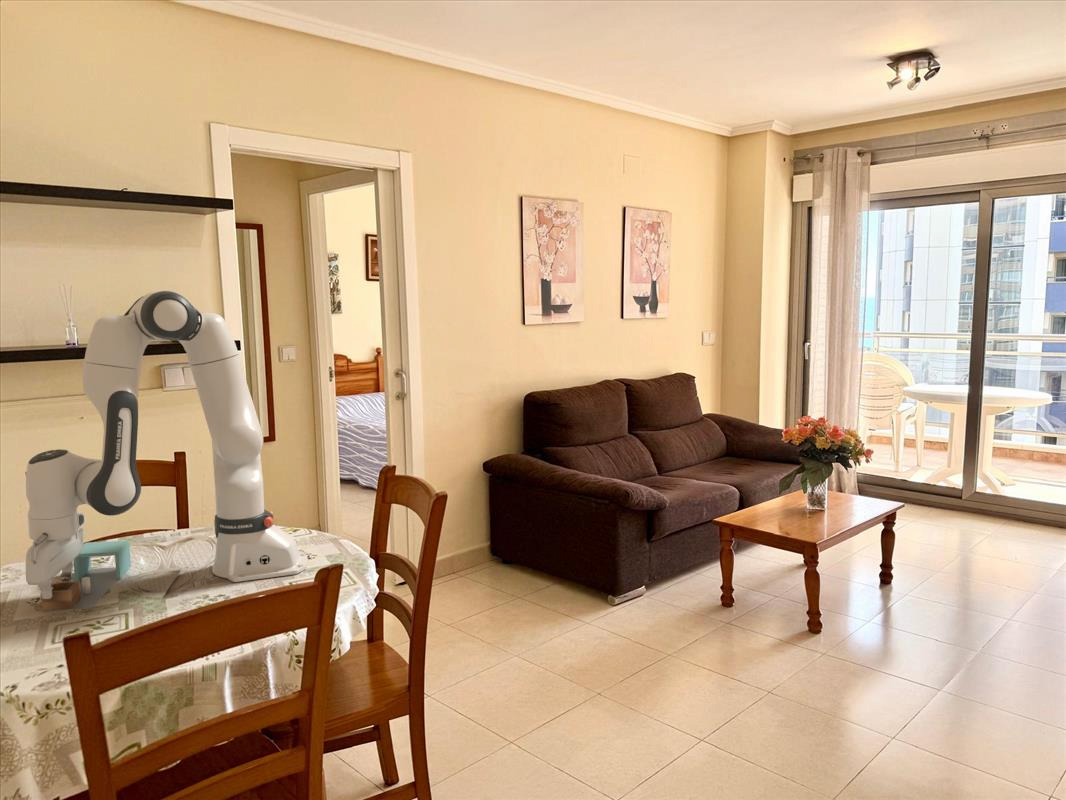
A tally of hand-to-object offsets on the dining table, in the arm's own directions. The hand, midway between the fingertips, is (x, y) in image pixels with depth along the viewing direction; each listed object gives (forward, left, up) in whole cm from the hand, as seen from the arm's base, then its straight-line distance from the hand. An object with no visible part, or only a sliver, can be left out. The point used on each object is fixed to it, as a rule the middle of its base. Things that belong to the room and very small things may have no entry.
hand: (57, 588), depth 161 cm
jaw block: (-1, 0, -4) cm, 4 cm away
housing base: (-3, -9, -5) cm, 10 cm away
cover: (-4, -16, -3) cm, 17 cm away
